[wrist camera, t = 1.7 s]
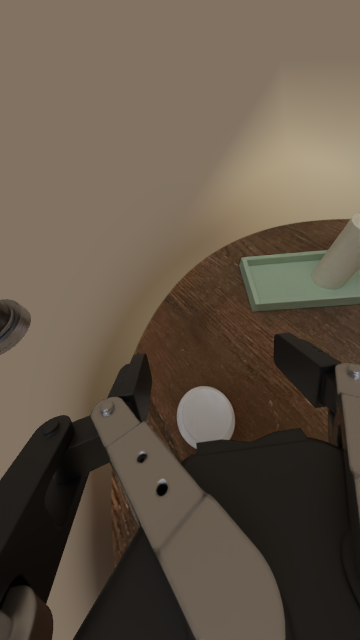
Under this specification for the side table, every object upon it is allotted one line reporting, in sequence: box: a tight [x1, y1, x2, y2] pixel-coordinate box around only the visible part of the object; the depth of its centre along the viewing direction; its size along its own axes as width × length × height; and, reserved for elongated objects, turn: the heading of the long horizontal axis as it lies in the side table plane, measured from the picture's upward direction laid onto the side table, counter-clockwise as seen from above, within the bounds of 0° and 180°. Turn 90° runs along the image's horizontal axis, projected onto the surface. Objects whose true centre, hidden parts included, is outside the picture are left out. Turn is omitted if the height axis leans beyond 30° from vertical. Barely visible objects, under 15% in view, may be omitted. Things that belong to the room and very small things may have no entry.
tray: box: [239, 250, 360, 312], centre depth 32 cm, size 28×11×2 cm, turn 92°
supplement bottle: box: [177, 386, 235, 449], centre depth 19 cm, size 5×5×10 cm
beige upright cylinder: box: [311, 213, 360, 290], centre depth 28 cm, size 5×5×10 cm
